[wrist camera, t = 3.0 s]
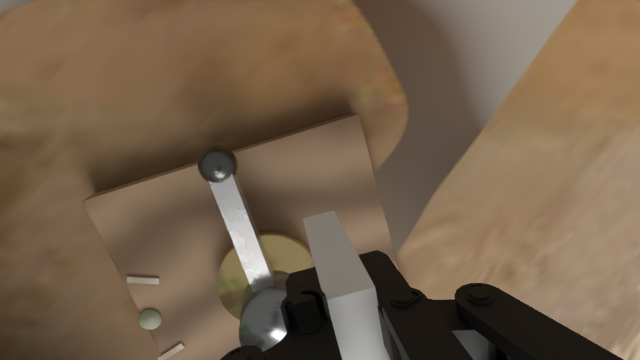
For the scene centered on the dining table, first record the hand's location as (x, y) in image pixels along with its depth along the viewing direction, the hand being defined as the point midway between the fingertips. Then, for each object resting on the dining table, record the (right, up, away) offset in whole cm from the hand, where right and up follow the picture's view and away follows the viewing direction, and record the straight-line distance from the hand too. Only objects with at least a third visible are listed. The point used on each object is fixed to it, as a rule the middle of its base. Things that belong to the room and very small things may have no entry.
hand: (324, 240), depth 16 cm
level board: (-5, -6, +16) cm, 17 cm away
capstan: (-6, -2, +12) cm, 13 cm away
